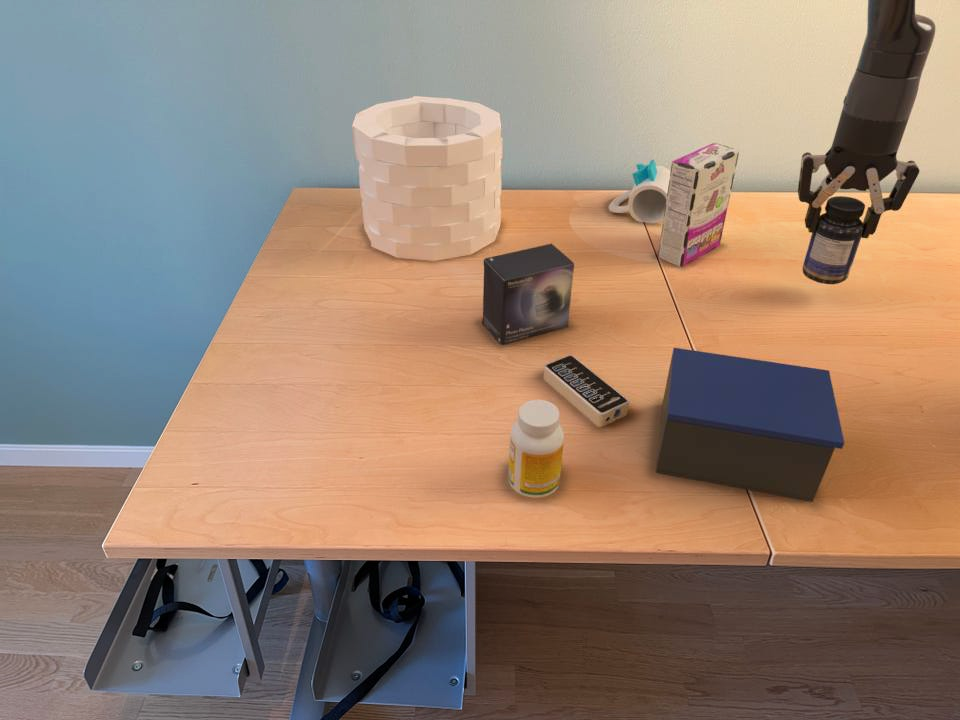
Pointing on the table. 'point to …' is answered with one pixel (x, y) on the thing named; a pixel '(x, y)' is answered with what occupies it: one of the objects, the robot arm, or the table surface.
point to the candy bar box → (697, 203)
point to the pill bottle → (835, 241)
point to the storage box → (739, 458)
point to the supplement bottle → (536, 449)
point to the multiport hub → (586, 390)
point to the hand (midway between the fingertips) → (837, 232)
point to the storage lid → (754, 397)
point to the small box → (526, 293)
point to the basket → (429, 176)
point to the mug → (645, 194)
